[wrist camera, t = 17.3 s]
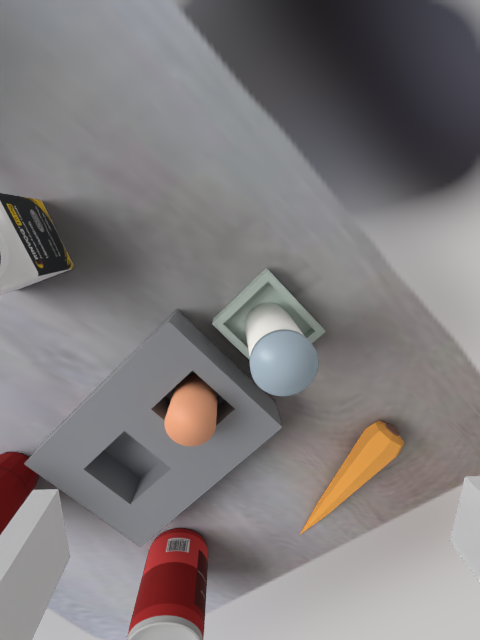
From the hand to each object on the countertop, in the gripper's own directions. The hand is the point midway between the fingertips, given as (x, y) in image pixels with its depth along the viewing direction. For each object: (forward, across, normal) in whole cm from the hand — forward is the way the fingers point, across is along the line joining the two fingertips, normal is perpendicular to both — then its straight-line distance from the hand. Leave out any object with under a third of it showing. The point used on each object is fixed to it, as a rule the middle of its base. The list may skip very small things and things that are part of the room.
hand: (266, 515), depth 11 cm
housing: (+26, -9, -13) cm, 30 cm away
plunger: (+24, -4, -9) cm, 26 cm away
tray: (+26, +4, -1) cm, 26 cm away
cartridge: (+25, +4, -1) cm, 25 cm away
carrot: (+26, +13, -22) cm, 36 cm away
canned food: (+26, -7, -33) cm, 42 cm away
